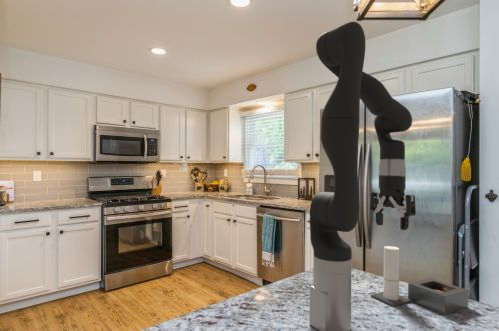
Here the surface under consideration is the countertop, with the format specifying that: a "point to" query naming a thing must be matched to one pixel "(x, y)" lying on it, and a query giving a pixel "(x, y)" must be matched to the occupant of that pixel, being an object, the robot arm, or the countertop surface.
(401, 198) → the robot arm
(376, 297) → the pad
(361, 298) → the countertop surface
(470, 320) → the countertop surface
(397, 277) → the tube
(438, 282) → the frame
